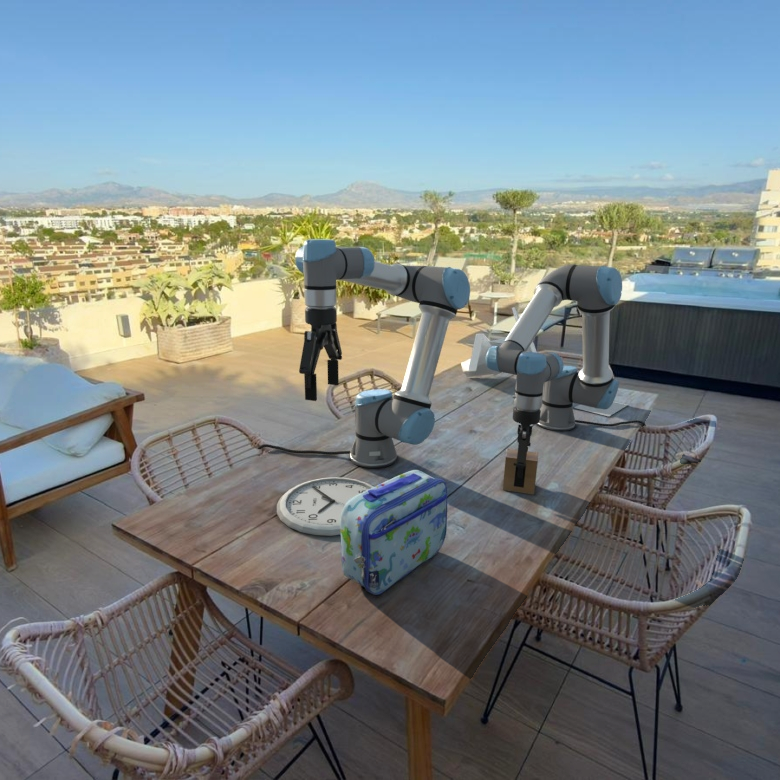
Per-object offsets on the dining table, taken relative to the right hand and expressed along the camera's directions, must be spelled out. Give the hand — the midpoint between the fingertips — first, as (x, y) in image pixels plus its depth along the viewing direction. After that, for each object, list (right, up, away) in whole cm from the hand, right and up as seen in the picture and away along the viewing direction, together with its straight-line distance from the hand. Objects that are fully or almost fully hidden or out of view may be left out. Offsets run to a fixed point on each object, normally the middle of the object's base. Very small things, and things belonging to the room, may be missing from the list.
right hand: (520, 476), depth 153 cm
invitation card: (+53, +18, +73) cm, 92 cm away
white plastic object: (+16, +28, +104) cm, 109 cm away
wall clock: (-54, -6, -11) cm, 55 cm away
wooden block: (0, -4, +1) cm, 4 cm away
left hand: (-55, +25, -23) cm, 65 cm away
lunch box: (-37, -15, -36) cm, 54 cm away
